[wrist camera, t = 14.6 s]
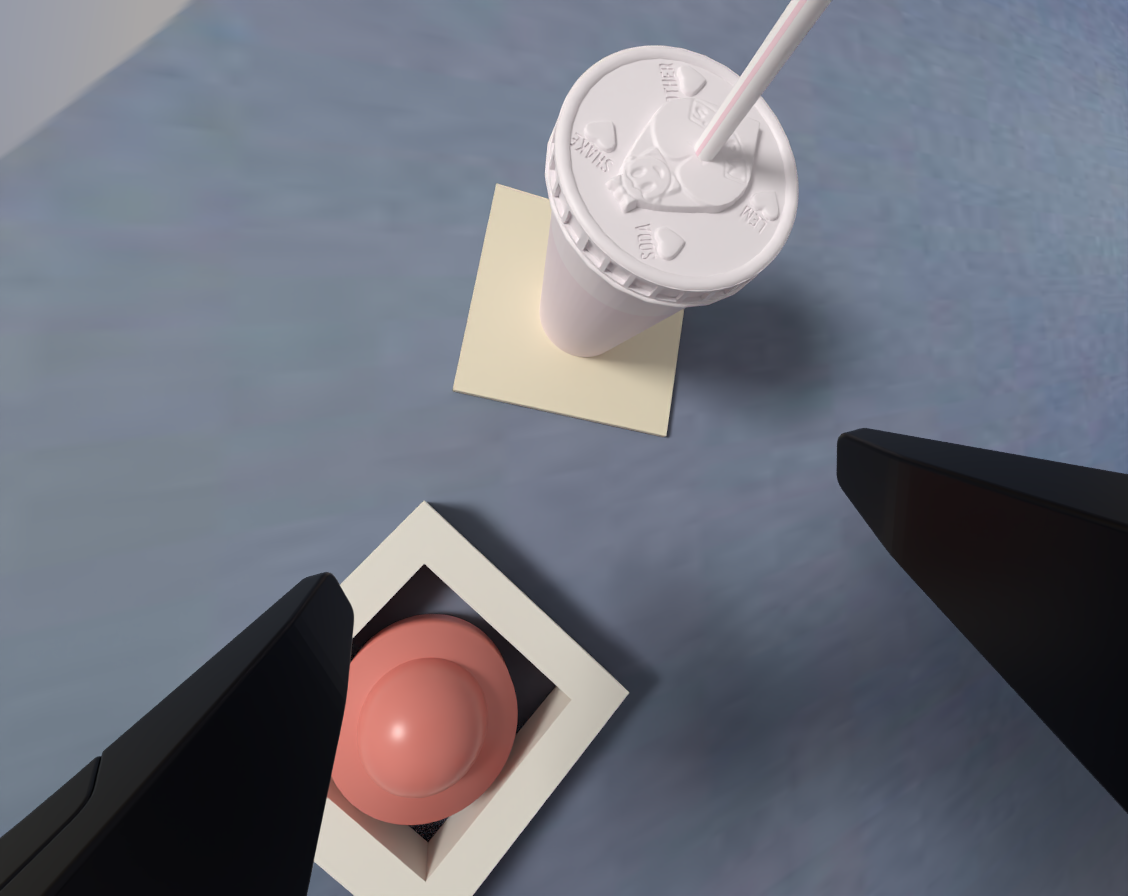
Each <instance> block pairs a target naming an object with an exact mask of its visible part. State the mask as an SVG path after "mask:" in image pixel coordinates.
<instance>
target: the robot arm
mask: <svg viewBox="0 0 1128 896" xmlns="http://www.w3.org/2000/svg"><path fill="white" fill-rule="evenodd" d="M837 480H838V483H839V485H840V487H841V489H842V490H843V492H844V493H845V494H846V496H847V497H848V498H849V500H850V501H851V502H852V504H853V505H854V506H855V508H856V509H857V511H858V512H859V513H860V515H861V516H862V517H863V519H864V520H865V521H866V523H867V524H868V525H869V527H870V528H871V530H872V531H873V532H874V534H875V535H876V536H877V538H878V539H879V540H880V542H881V543H882V544H883V546H884V547H885V548H886V550H887V551H888V552H889V553H890V555H891V556H892V557H893V558H894V559H895V560H896V562H897V563H898V564H899V565H900V566H901V567H902V568H903V569H904V571H905V572H906V573H907V574H908V575H909V576H910V577H911V578H912V579H913V580H914V581H915V583H916V584H917V585H918V586H919V587H920V588H921V589H922V590H923V591H924V592H925V593H926V595H927V596H928V597H929V598H930V599H931V600H932V601H933V602H934V603H935V604H936V605H937V607H938V608H939V609H940V610H941V611H942V612H943V613H944V614H945V615H946V616H947V617H948V618H949V620H950V621H951V622H952V623H953V624H954V625H955V626H956V627H957V628H958V629H959V630H960V632H961V633H962V634H963V635H964V636H965V637H966V638H967V639H968V640H969V641H970V642H971V644H972V645H973V646H974V647H975V648H976V649H977V650H978V651H979V652H980V653H981V654H982V656H983V657H984V658H985V659H986V660H987V661H988V662H989V663H990V664H991V665H992V666H993V668H994V669H995V670H996V671H997V672H998V673H999V674H1000V675H1001V676H1002V677H1003V678H1004V680H1005V681H1006V682H1007V683H1008V684H1009V685H1010V686H1011V687H1012V688H1013V689H1014V690H1015V692H1016V693H1017V694H1018V695H1019V696H1020V697H1021V698H1022V699H1023V700H1024V701H1025V702H1026V703H1027V705H1028V706H1029V707H1030V708H1031V709H1032V710H1033V711H1034V712H1035V713H1036V714H1037V715H1038V717H1039V718H1040V719H1041V720H1042V721H1043V722H1044V723H1045V724H1046V725H1047V726H1048V727H1049V729H1050V730H1051V731H1052V732H1053V733H1054V734H1055V735H1056V736H1057V737H1058V738H1059V739H1060V741H1061V742H1062V743H1063V744H1064V745H1065V746H1066V747H1067V748H1068V749H1069V750H1070V751H1071V753H1072V754H1073V755H1074V756H1075V757H1076V758H1077V759H1078V760H1079V761H1080V762H1081V763H1082V765H1083V766H1084V767H1085V768H1086V769H1087V770H1088V771H1089V772H1090V773H1091V774H1092V775H1093V776H1094V778H1095V779H1096V780H1097V781H1098V782H1099V783H1100V784H1101V785H1102V786H1103V787H1104V788H1105V790H1106V791H1107V792H1108V793H1109V794H1110V795H1111V796H1112V797H1113V798H1114V799H1115V800H1116V802H1117V803H1118V804H1119V805H1120V806H1121V807H1122V808H1123V809H1124V810H1125V811H1126V812H1127V814H1128V474H1123V473H1118V472H1112V471H1106V470H1101V469H1095V468H1089V467H1084V466H1078V465H1072V464H1067V463H1061V462H1055V461H1050V460H1044V459H1038V458H1033V457H1027V456H1021V455H1016V454H1010V453H1004V452H999V451H993V450H987V449H982V448H976V447H970V446H965V445H959V444H953V443H948V442H942V441H936V440H931V439H925V438H919V437H914V436H908V435H903V434H897V433H891V432H886V431H880V430H874V429H869V428H861V429H857V430H853V431H850V432H846V433H843V434H841V435H840V436H839V438H838V441H837ZM353 627H354V612H353V608H352V606H351V603H350V602H349V600H348V598H347V597H346V595H345V593H344V591H343V590H342V588H341V586H340V584H339V583H338V581H337V579H336V578H335V576H334V575H333V574H331V573H329V572H324V573H320V574H316V575H313V576H309V577H306V578H304V579H303V580H301V581H300V582H299V583H298V584H297V585H296V586H295V587H293V588H292V589H291V590H290V591H289V592H288V593H286V594H285V595H284V596H283V597H282V598H281V599H279V600H278V601H277V602H276V603H275V604H274V605H272V606H271V607H270V608H269V609H268V610H267V611H265V612H264V613H263V614H262V615H261V616H260V617H259V618H257V619H256V620H255V621H254V622H253V623H252V624H250V625H249V626H248V627H247V628H246V629H245V630H243V631H242V632H241V633H240V634H239V635H238V636H236V637H235V638H234V639H233V640H232V641H231V642H229V643H228V644H227V645H226V646H225V647H224V648H223V649H221V650H220V651H219V652H218V653H217V654H216V655H214V656H213V657H212V658H211V659H210V660H209V661H207V662H206V663H205V664H204V665H203V666H202V667H200V668H199V669H198V670H197V671H196V672H195V673H193V674H192V675H191V676H190V677H189V678H188V679H187V680H185V681H184V682H183V683H182V684H181V685H180V686H178V687H177V688H176V689H175V690H174V691H173V692H171V693H170V694H169V695H168V696H167V697H166V698H164V699H163V700H162V701H161V702H160V703H159V704H158V705H156V706H155V707H154V708H153V709H152V710H151V711H149V712H148V713H147V714H146V715H145V716H144V717H142V718H141V719H140V720H139V721H138V722H137V723H135V724H134V725H133V726H132V727H131V728H130V729H128V730H127V731H126V732H125V733H124V734H123V735H122V736H120V737H119V738H118V739H117V740H116V741H115V742H113V743H112V744H111V745H110V746H109V747H108V748H106V749H105V750H104V751H103V753H102V756H98V757H96V758H95V759H93V760H92V761H91V762H90V763H89V764H88V765H86V766H85V767H84V768H83V769H82V770H81V771H80V772H78V773H77V774H76V775H75V776H74V777H73V778H71V779H70V780H69V781H68V782H67V783H66V784H64V785H63V786H62V787H61V788H60V789H58V790H57V791H56V792H55V793H54V794H53V795H51V796H50V797H49V798H48V799H47V800H45V801H44V802H43V803H42V804H41V805H39V806H38V807H37V808H36V809H35V810H34V811H32V812H31V813H30V814H29V815H28V816H26V817H25V818H24V819H23V820H22V821H20V822H19V823H18V824H17V825H16V826H14V827H13V828H12V829H11V830H9V831H8V832H7V833H6V834H4V835H3V836H2V837H1V838H0V896H307V892H308V887H309V882H310V877H311V872H312V868H313V863H314V858H315V853H316V848H317V843H318V838H319V833H320V829H321V824H322V819H323V814H324V809H325V804H326V799H327V794H328V790H329V785H330V780H331V775H332V770H333V765H334V760H335V756H336V751H337V746H338V741H339V736H340V731H341V726H342V721H343V716H344V711H345V705H346V699H347V691H348V681H349V671H350V660H351V649H352V638H353Z"/></svg>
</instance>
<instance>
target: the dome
mask: <svg viewBox="0 0 1128 896" xmlns="http://www.w3.org/2000/svg"><path fill="white" fill-rule="evenodd" d="M517 717H518V709H517V698H516V694H515V689H514V686H513V683H512V680H511V677H510V675H509V672H508V669H507V666H506V664H505V661H504V659H503V657H502V655H501V653H500V651H499V649H498V648H497V646H496V645H495V644H494V642H493V641H492V640H491V639H490V638H489V637H488V636H487V635H486V634H485V633H484V632H483V631H482V630H480V629H479V628H478V627H476V626H475V625H473V624H471V623H470V622H468V621H465V620H463V619H460V618H457V617H454V616H450V615H443V614H423V615H416V616H412V617H408V618H405V619H402V620H400V621H397V622H395V623H393V624H391V625H389V626H387V627H386V628H384V629H382V630H381V631H379V632H378V633H377V634H375V635H374V636H373V637H372V638H371V639H370V640H369V641H367V642H366V643H365V644H364V645H363V647H362V648H361V649H360V650H359V651H358V653H357V654H356V655H355V657H354V658H353V660H352V661H351V663H350V671H349V681H348V691H347V699H346V705H345V711H344V716H343V721H342V726H341V731H340V736H339V741H338V746H337V751H336V756H335V760H334V765H333V770H332V775H331V776H332V778H333V780H334V782H335V784H336V786H337V787H338V789H339V790H340V791H341V793H342V794H343V796H344V797H345V798H346V799H347V800H348V801H349V802H350V803H351V804H352V805H354V806H355V807H356V808H358V809H359V810H360V811H362V812H363V813H365V814H367V815H369V816H371V817H373V818H375V819H378V820H381V821H384V822H387V823H392V824H398V825H419V824H427V823H431V822H435V821H439V820H441V819H444V818H447V817H449V816H452V815H453V814H455V813H457V812H459V811H461V810H463V809H464V808H466V807H467V806H469V805H470V804H472V803H473V802H474V801H475V800H476V799H478V798H479V797H480V796H481V795H482V794H483V793H484V792H485V791H486V790H487V789H488V788H489V787H490V786H491V784H492V783H493V782H494V781H495V779H496V778H497V776H498V775H499V774H500V772H501V770H502V768H503V767H504V765H505V763H506V761H507V759H508V757H509V754H510V752H511V749H512V746H513V743H514V739H515V735H516V729H517Z"/></svg>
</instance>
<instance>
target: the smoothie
mask: <svg viewBox="0 0 1128 896" xmlns="http://www.w3.org/2000/svg"><path fill="white" fill-rule="evenodd" d="M831 1H832V0H791V2H790V3H789V5H788V6H787V8H786V9H785V11H784V12H783V14H782V15H781V17H780V18H779V20H778V21H777V23H776V24H775V26H774V27H773V29H772V30H771V32H770V33H769V35H768V36H767V38H766V39H765V41H764V42H763V44H762V45H761V47H760V48H759V50H758V51H757V53H756V54H755V56H754V57H753V59H752V60H751V62H750V63H749V65H748V66H747V68H746V69H745V71H744V72H743V74H742V75H741V77H740V76H738V75H737V74H736V73H734V72H733V71H732V70H730V69H729V68H728V67H726V66H724V65H722V64H720V63H718V62H716V61H715V60H713V59H711V58H709V57H707V56H705V55H702V54H699V53H695V52H692V51H689V50H686V49H683V48H676V47H669V46H660V45H658V46H641V47H634V48H629V49H625V50H622V51H619V52H616V53H613V54H611V55H609V56H607V57H605V58H603V59H602V60H600V61H598V62H597V63H595V64H594V65H593V66H591V67H590V68H589V69H588V70H587V71H585V72H584V73H583V75H582V76H581V77H580V78H579V79H578V80H577V81H576V83H575V84H574V85H573V87H572V88H571V90H570V91H569V93H568V95H567V96H566V98H565V101H564V103H563V105H562V107H561V110H560V114H559V117H558V120H557V122H556V124H555V127H554V129H553V132H552V134H551V137H550V139H549V141H548V146H547V156H546V167H545V179H546V185H547V190H548V196H549V201H550V207H551V221H550V229H549V236H548V244H547V252H546V260H545V268H544V276H543V284H542V292H541V300H540V309H539V313H540V321H541V324H542V327H543V329H544V332H545V333H546V335H547V337H548V338H549V339H550V340H551V342H552V343H553V344H554V345H555V346H557V347H558V348H559V349H561V350H562V351H564V352H566V353H568V354H571V355H574V356H578V357H593V356H598V355H600V354H603V353H605V352H607V351H608V350H610V349H612V348H614V347H616V346H617V345H619V344H621V343H623V342H625V341H626V340H628V339H630V338H632V337H634V336H635V335H637V334H639V333H641V332H643V331H644V330H646V329H648V328H650V327H652V326H653V325H655V324H657V323H659V322H661V321H662V320H664V319H666V318H668V317H670V316H671V315H673V314H675V313H677V312H679V311H680V310H683V309H685V308H687V307H694V306H705V305H710V304H712V303H714V302H717V301H719V300H722V299H724V298H727V297H729V296H732V295H734V294H736V293H737V292H738V291H739V290H741V289H742V288H743V287H744V286H745V285H747V284H748V283H749V282H750V281H751V280H753V279H754V278H755V277H756V276H757V275H758V273H759V272H761V271H762V270H763V269H764V268H765V267H766V266H768V265H769V264H770V263H771V262H772V261H773V259H774V258H775V257H776V256H777V255H778V253H779V252H780V251H781V249H782V248H783V246H784V244H785V243H786V241H787V239H788V237H789V234H790V232H791V230H792V227H793V224H794V221H795V217H796V212H797V206H798V176H797V169H796V164H795V159H794V156H793V152H792V149H791V147H790V144H789V141H788V138H787V136H786V134H785V132H784V130H783V128H782V126H781V124H780V122H779V120H778V118H777V117H776V115H775V114H774V113H773V111H772V110H771V109H770V107H769V106H768V104H767V103H766V102H765V100H764V99H763V98H762V97H761V95H762V93H763V92H764V91H765V89H766V88H767V87H768V85H769V84H770V83H771V81H772V80H773V79H774V77H775V76H776V75H777V73H778V72H779V71H780V69H781V68H782V67H783V65H784V64H785V63H786V61H787V60H788V59H789V57H790V56H791V55H792V53H793V52H794V51H795V49H796V48H797V47H798V45H799V44H800V43H801V41H802V40H803V39H804V37H805V36H806V35H807V33H808V32H809V31H810V29H811V28H812V27H813V25H814V24H815V23H816V21H817V20H818V19H819V17H820V16H821V14H822V13H823V12H824V10H825V9H826V8H827V6H828V5H829V4H830V2H831Z"/></svg>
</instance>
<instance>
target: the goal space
mask: <svg viewBox="0 0 1128 896" xmlns="http://www.w3.org/2000/svg"><path fill="white" fill-rule="evenodd" d="M550 221H551V207H550V201H549V199H547V198H543V197H540V196H537V195H533V194H530V193H527V192H523V191H520V190H517V189H513V188H510V187H507V186H503V185H500V184H496V188H495V193H494V198H493V202H492V207H491V212H490V217H489V221H488V226H487V231H486V235H485V240H484V245H483V250H482V254H481V259H480V264H479V268H478V273H477V278H476V283H475V287H474V292H473V297H472V301H471V306H470V311H469V316H468V320H467V325H466V330H465V335H464V339H463V344H462V349H461V353H460V358H459V363H458V368H457V372H456V377H455V382H454V386H453V391H454V392H459V393H463V394H468V395H472V396H477V397H481V398H486V399H491V400H495V401H500V402H504V403H509V404H514V405H518V406H523V407H527V408H532V409H537V410H541V411H546V412H550V413H555V414H560V415H564V416H569V417H573V418H578V419H583V420H587V421H592V422H596V423H601V424H605V425H610V426H615V427H619V428H624V429H628V430H633V431H638V432H642V433H647V434H651V435H656V436H661V437H665V436H666V434H667V427H668V420H669V413H670V406H671V399H672V391H673V384H674V377H675V370H676V363H677V356H678V349H679V342H680V335H681V328H682V321H683V314H684V309H683V310H680V311H679V312H677V313H675V314H673V315H671V316H670V317H668V318H666V319H664V320H662V321H661V322H659V323H657V324H655V325H653V326H652V327H650V328H648V329H646V330H644V331H643V332H641V333H639V334H637V335H635V336H634V337H632V338H630V339H628V340H626V341H625V342H623V343H621V344H619V345H617V346H616V347H614V348H612V349H610V350H608V351H607V352H605V353H603V354H600V355H598V356H593V357H578V356H574V355H571V354H568V353H566V352H564V351H562V350H561V349H559V348H558V347H557V346H555V345H554V344H553V343H552V342H551V340H550V339H549V338H548V337H547V335H546V333H545V332H544V329H543V327H542V324H541V321H540V313H539V309H540V300H541V292H542V284H543V276H544V268H545V260H546V252H547V244H548V236H549V229H550Z"/></svg>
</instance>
